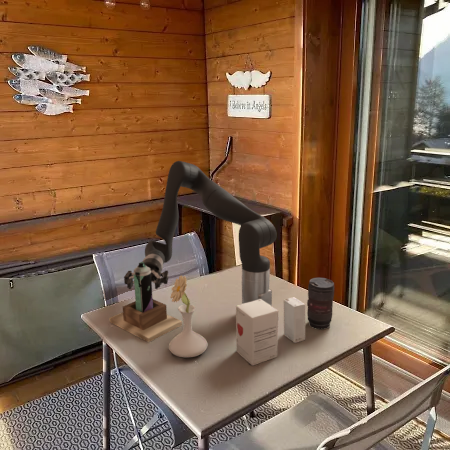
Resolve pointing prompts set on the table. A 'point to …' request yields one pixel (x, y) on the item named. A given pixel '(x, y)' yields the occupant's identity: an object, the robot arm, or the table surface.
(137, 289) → the spray can
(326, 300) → the camera lens
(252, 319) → the supplement box
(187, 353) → the flower in vase
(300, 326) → the skincare box
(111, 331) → the table surface
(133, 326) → the can holder
